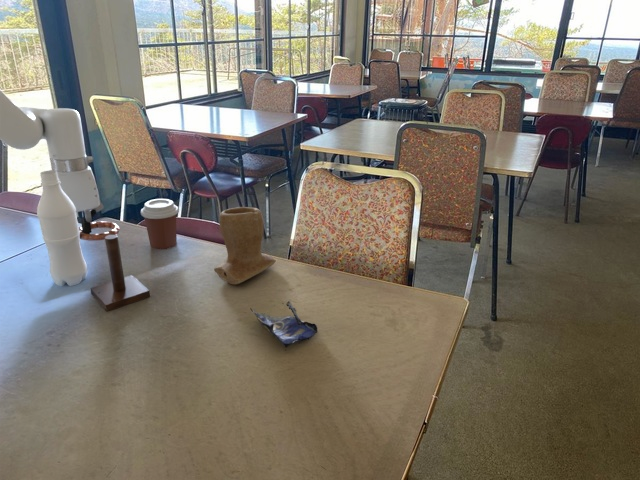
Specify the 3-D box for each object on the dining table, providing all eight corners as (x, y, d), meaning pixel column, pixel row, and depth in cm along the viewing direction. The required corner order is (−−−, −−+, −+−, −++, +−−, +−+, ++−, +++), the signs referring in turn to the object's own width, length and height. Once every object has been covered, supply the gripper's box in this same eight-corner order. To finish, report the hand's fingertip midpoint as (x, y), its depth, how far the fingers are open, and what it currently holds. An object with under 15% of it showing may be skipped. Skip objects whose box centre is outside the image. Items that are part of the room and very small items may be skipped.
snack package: (303, 311, 98) (247, 318, 94) (306, 286, 94) (248, 293, 91) (322, 353, 89) (260, 364, 85) (326, 327, 85) (261, 337, 81)
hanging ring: (84, 245, 114) (83, 238, 114) (70, 232, 121) (69, 226, 120) (126, 235, 121) (125, 229, 120) (110, 223, 127) (110, 217, 127)
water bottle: (96, 280, 107) (76, 171, 97) (66, 293, 102) (41, 179, 91) (76, 271, 110) (54, 165, 100) (46, 284, 105) (20, 173, 95)
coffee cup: (189, 242, 127) (185, 199, 122) (169, 256, 119) (164, 211, 114) (159, 237, 129) (154, 195, 124) (137, 251, 121) (131, 206, 116)
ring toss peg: (107, 311, 96) (96, 250, 90) (91, 294, 102) (79, 235, 96) (150, 296, 101) (142, 238, 96) (132, 280, 107) (124, 225, 102)
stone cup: (245, 253, 122) (243, 197, 116) (282, 266, 116) (281, 207, 110) (200, 275, 110) (195, 214, 104) (238, 291, 104) (235, 227, 98)
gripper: (98, 156, 118) (108, 225, 126) (26, 165, 108) (41, 240, 116) (110, 162, 113) (119, 234, 121) (35, 172, 103) (50, 250, 111)
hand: (81, 236), depth 118 cm, fingers closed on hanging ring, 2 cm apart
